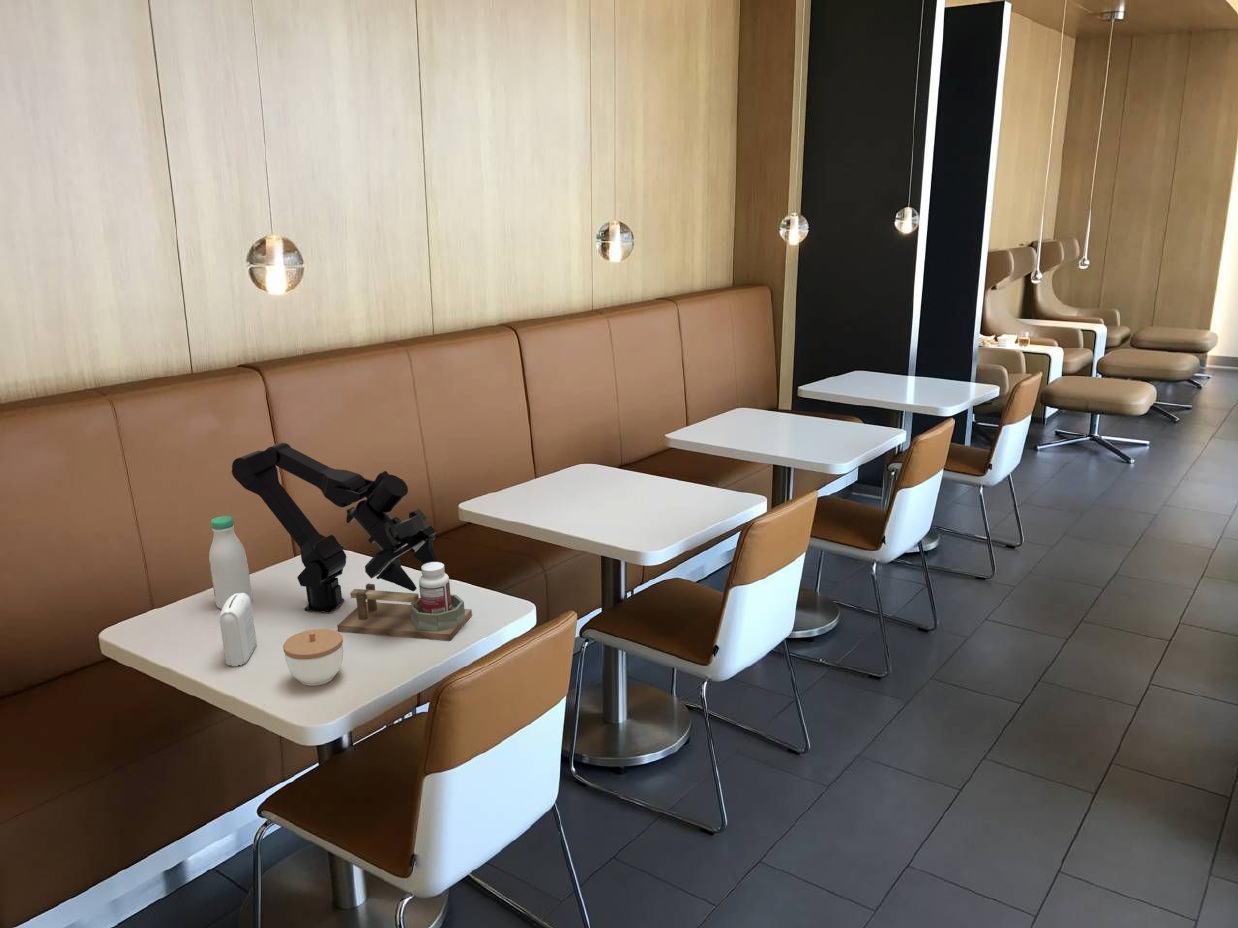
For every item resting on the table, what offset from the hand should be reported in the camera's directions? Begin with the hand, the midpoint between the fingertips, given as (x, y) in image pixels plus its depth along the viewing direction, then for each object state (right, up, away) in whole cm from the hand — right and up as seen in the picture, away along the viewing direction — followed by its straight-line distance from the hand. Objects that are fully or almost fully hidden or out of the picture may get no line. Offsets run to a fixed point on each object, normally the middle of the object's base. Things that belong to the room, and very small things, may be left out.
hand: (427, 581), depth 212 cm
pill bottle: (+2, -7, +2) cm, 8 cm away
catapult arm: (-5, -8, +3) cm, 10 cm away
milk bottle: (-46, -7, +17) cm, 49 cm away
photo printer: (-36, -14, -8) cm, 39 cm away
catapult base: (-5, -9, +4) cm, 11 cm away
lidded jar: (-18, -16, -18) cm, 30 cm away
